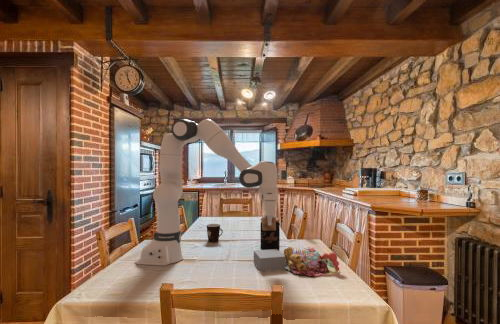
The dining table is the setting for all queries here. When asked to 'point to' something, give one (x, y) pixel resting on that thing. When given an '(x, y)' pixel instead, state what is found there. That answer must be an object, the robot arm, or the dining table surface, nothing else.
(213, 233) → the coffee mug
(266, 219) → the walnut block
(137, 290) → the dining table surface
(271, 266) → the grey box
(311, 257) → the candy landscape model
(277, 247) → the coffee jar
